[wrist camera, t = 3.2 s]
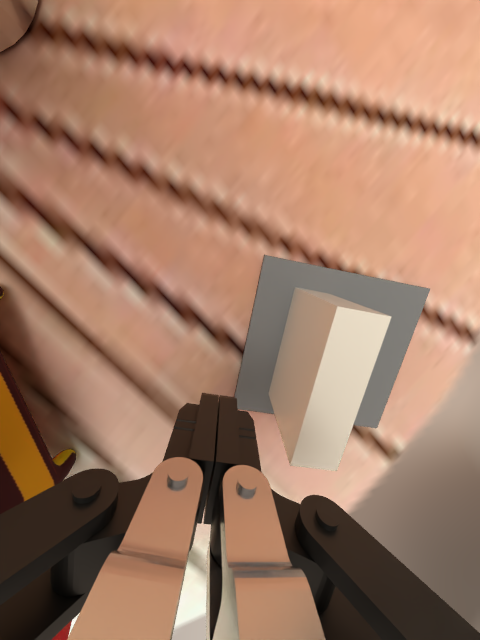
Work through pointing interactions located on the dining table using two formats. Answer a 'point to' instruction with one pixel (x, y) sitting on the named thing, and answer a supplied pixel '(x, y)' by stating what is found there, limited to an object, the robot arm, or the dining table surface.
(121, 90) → the dining table surface
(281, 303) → the mat
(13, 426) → the decorative lantern
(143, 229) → the dining table surface
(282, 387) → the block
